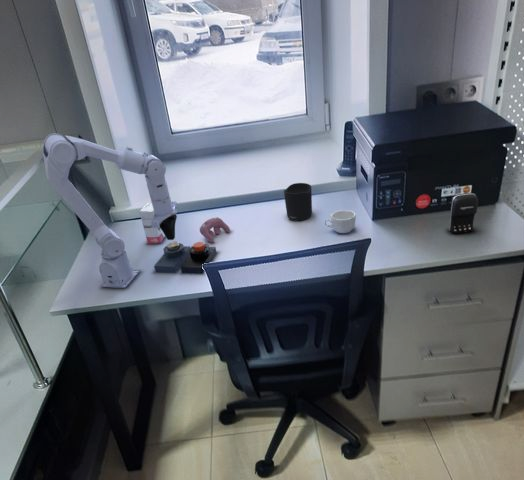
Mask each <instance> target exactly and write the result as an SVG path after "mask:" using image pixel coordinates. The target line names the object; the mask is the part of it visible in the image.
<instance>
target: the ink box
mask: <svg viewBox="0 0 524 480" xmlns="http://www.w3.org/2000/svg"><path fill="white" fill-rule="evenodd" d="M139 215H140V219H141V223H142V227H143V230H144V235H145V237H146V243H147V244H149V245H150V244H161V243H162V242H163V240H164V239H165V238H166V236H165V234H164V233H163V231H162V230H161V228H160V227H159V228H153V227H152V224H151V221H152V220H153V216H154V209H153V205H152V201H148V202H147V203H146V204H145V205H144V206H143V207H142V208H141V209H140V210H139Z"/></svg>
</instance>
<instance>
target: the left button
mask: <svg viewBox="0 0 524 480" xmlns="http://www.w3.org/2000/svg"><path fill="white" fill-rule="evenodd" d="M178 243H179V242H178V241H170V242H167V245H166V246H167V247H168V250H169V251H175V250H178V249H179V244H178Z"/></svg>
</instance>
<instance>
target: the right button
mask: <svg viewBox="0 0 524 480" xmlns="http://www.w3.org/2000/svg"><path fill="white" fill-rule="evenodd" d="M204 244H205V242H203V241H197V242H194V243H193V244H192V246H193V248H194V251H195V252H200V251H203V250H205V245H204Z"/></svg>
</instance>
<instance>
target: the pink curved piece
mask: <svg viewBox="0 0 524 480" xmlns="http://www.w3.org/2000/svg"><path fill="white" fill-rule="evenodd" d="M221 229H222V230H223V231H224V232H226V233H230V232H231V228H230V227H229V225H228V224H227V223H226V222H225V221H224V220H223V219H222V218H220V217H218V216H216V217H212V218H209V219H207V220H206V221H204V222H203V223H202V224H201V226H199V233H200V234H201V236H203V238H204V239H205V240H206V241H207V242H209V243H214V240H215V239H214V237H215V235H219V234H220V233H221Z"/></svg>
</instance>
